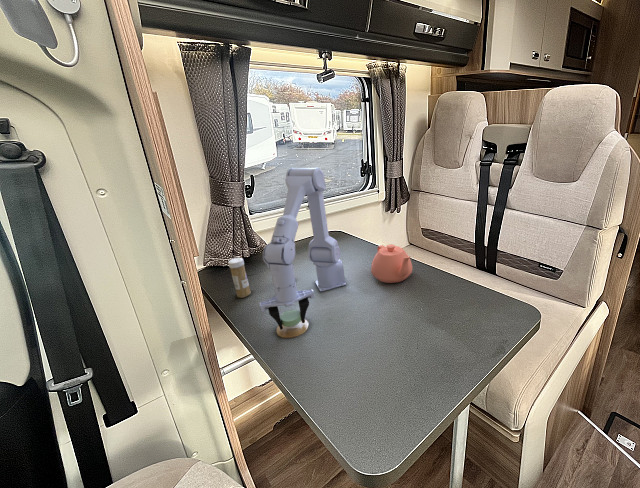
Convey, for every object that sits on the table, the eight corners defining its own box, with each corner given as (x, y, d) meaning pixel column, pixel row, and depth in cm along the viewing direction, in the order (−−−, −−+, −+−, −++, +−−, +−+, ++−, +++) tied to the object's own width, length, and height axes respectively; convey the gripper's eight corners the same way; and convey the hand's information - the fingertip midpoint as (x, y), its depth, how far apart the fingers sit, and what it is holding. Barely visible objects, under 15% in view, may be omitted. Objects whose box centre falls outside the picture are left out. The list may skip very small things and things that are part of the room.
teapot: (427, 282, 115) (427, 250, 111) (391, 295, 107) (389, 262, 103) (395, 261, 132) (394, 233, 128) (361, 271, 125) (359, 242, 120)
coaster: (305, 315, 98) (305, 314, 98) (311, 331, 91) (311, 330, 90) (274, 324, 94) (274, 323, 94) (278, 342, 87) (278, 341, 87)
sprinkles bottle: (252, 295, 110) (244, 260, 105) (237, 299, 108) (229, 264, 103) (249, 289, 114) (241, 256, 109) (235, 293, 111) (227, 259, 107)
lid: (282, 329, 88) (281, 323, 87) (280, 318, 93) (279, 313, 92) (303, 323, 90) (302, 317, 90) (299, 312, 95) (298, 307, 94)
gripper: (257, 297, 81) (267, 340, 86) (314, 283, 87) (320, 324, 92) (255, 285, 87) (264, 326, 92) (308, 272, 93) (314, 311, 98)
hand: (292, 324), depth 92 cm, fingers closed on lid, 5 cm apart
